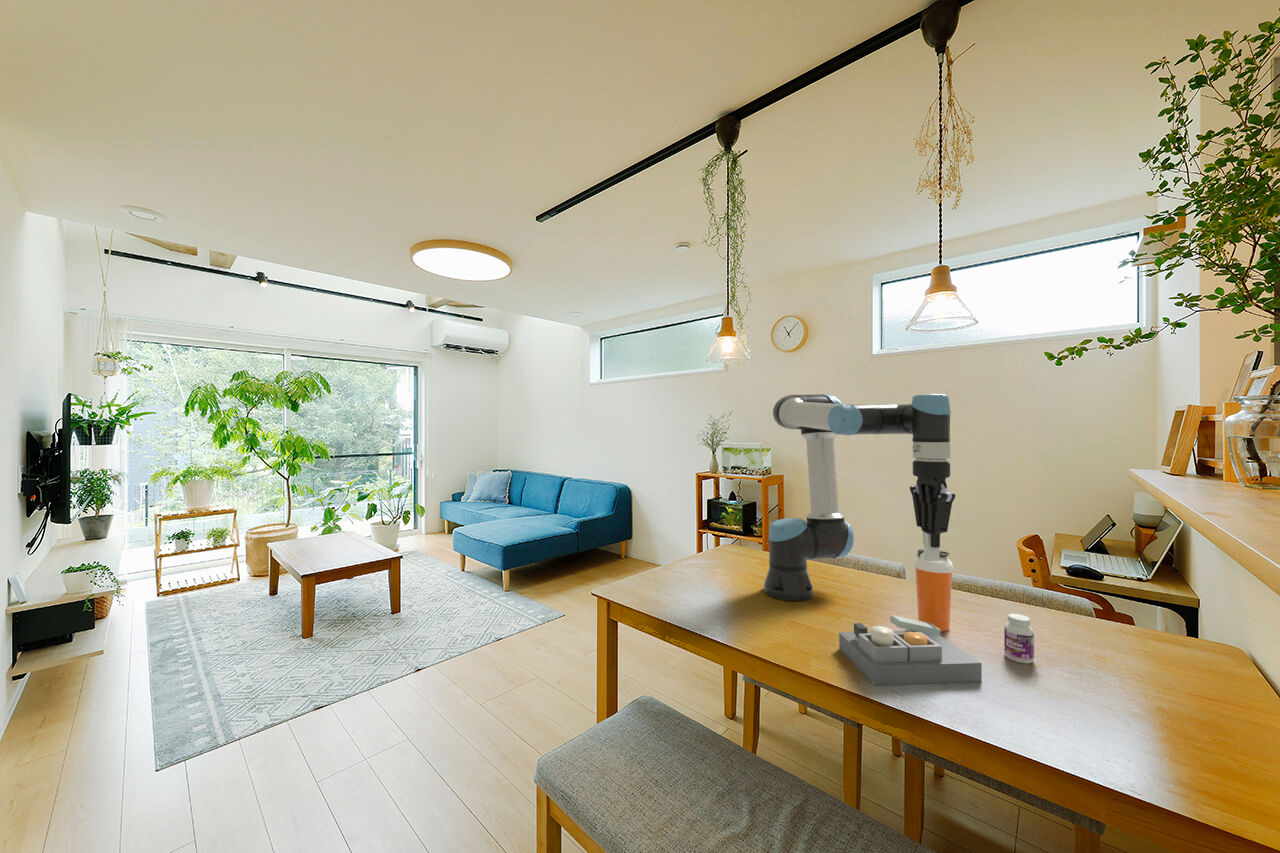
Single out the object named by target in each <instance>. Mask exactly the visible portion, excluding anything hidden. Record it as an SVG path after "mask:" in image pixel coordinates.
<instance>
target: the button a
mask: <svg viewBox="0 0 1280 853" xmlns="http://www.w3.org/2000/svg"><path fill="white" fill-rule="evenodd" d="M893 631H894V630H893V629H891V628H889V627H886V626H882V625H881V626H879V625H874V626H872V627H870V632H871V642H872V643H873V644H875V645H876V646H894V632H893Z"/></svg>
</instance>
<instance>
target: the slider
mask: <svg viewBox="0 0 1280 853" xmlns="http://www.w3.org/2000/svg"><path fill="white" fill-rule="evenodd" d="M853 632H854V634H855V635H856V636H857V637H859V634H866V633H868V632H869V631H868V627H867V626H866V625H864V624H863V623H862V622H854V623H853Z"/></svg>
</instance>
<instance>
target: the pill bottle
mask: <svg viewBox="0 0 1280 853" xmlns="http://www.w3.org/2000/svg"><path fill="white" fill-rule="evenodd" d="M1007 621H1008V622H1006V623H1005V624H1004V629H1003V630H1004V634H1003V636H1004V641H1003V642H1004V644H1003V648H1004V649H1003V650H1004V656H1005V657H1006V658H1007V659H1009V660H1011V661H1014V662H1017V663H1020V664H1031V663H1034V661H1035V631H1034V629H1033V628H1032V627H1031V618H1030V617H1028V616H1026V615H1023V614H1019V613H1018V614H1017V613H1009V614H1008V616H1007Z"/></svg>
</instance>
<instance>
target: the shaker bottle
mask: <svg viewBox="0 0 1280 853" xmlns="http://www.w3.org/2000/svg"><path fill="white" fill-rule="evenodd" d="M949 555H950V553H949V552H948V551H943V550H939V561H927V560H924V549H918V550H917V552H916V556H915V558H914V559H913V564H914V565H913V566H914V570H915V586H916V599H917V600H916V603H917V606H916V607H917V619H918V620H917V621H922V622H926V623H927V622H928V623H931V624H933V625H934V626H936V627H937V628H939V629H940V630H941V632H947V631H949V630H950V628H951V627H950V624H951V621H950V619H951V606H952V605H951V603H952V581H953V580H952V579H953V578H952V577H953V572H954V564H953V563H952V561H951V560H950V559H948V557H949Z"/></svg>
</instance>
